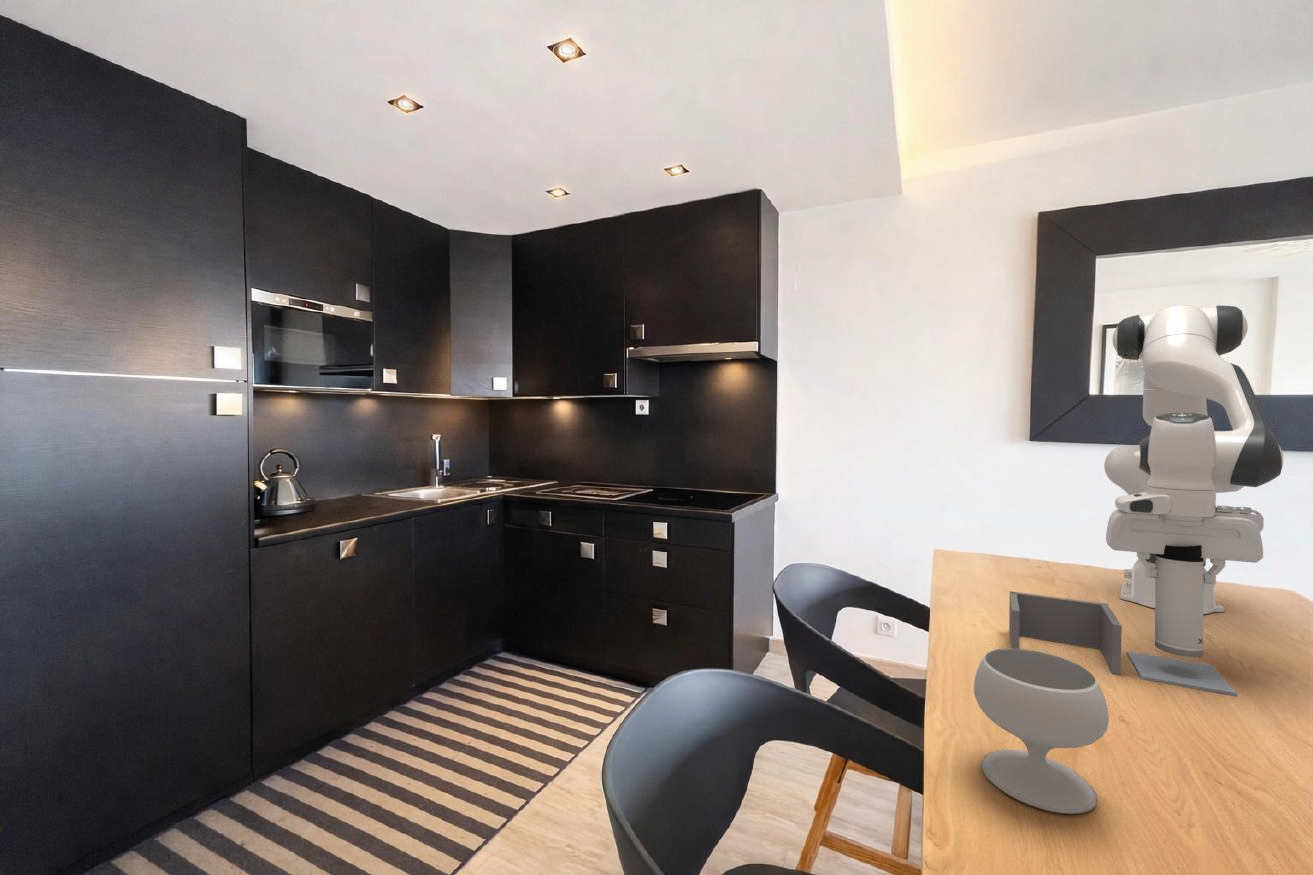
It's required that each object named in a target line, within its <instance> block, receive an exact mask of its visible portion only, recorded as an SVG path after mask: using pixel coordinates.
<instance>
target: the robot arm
mask: <svg viewBox="0 0 1313 875" xmlns="http://www.w3.org/2000/svg"><path fill="white" fill-rule="evenodd" d="M1248 328H1249V325H1248V321H1247V318H1246V316H1245V315H1244V313H1243V311H1242V310H1241V309H1240V308H1239V307H1237V306H1234V305H1216V306H1208V307H1207V306H1206V307H1203V306H1202V307H1201V306H1200V307H1197V306H1193V305H1188V304H1187V305H1186V304H1177V305H1171V306H1169V307H1166V308H1164V309H1162V310H1161V309H1160V310H1159V311H1158V312H1154V313H1147V314H1143V315H1139V314H1136V315H1132V316H1128V317H1125V318H1123V319H1121V321H1119V322H1118V323H1117V326H1116V328H1115V329H1114V331H1113V335H1112V346H1113V348H1114V350H1115V351H1116V354H1117V355H1118V356H1119V357H1120V358H1122V359H1124V360H1125V359H1126V360H1129V361H1130V360H1132V361H1133V360H1134V361H1139V359H1141V360H1142V368H1143V372H1144V375H1143V385H1142V387H1143V390H1142V392H1143V393H1142V418H1143V420H1144V422H1145V423H1146V424H1147V425H1148V426H1150V428H1151V429H1150V433H1149V434H1148V435H1147V436H1146V437H1144V438H1143V439H1142V440H1140V441H1139V442H1138V444H1137V445H1126V446H1120V447H1115V448H1114V449H1112V450H1111V451H1110V452H1109V453H1108V454H1107V456H1106V458H1105V460H1104V465H1103V466H1104V472H1105V474H1106V476H1107V477H1108V480H1110V481H1111V482H1112V483H1113V484H1114V485H1116V486H1118V487H1119V488H1121V489H1122V490H1123V491H1124V492H1125V493H1126V494H1127V495H1121V496H1117V497H1115V500H1114V505H1115V508H1116V509H1115V510H1114V511H1113V512H1111V514H1110V516H1109V518H1108V521H1107V527H1106V531H1105V532H1106V534H1105V542H1106V544H1107V546H1108V547H1109V548H1111V550H1114V551H1119V552H1128V553H1129V552H1131V553H1136V557H1137V560H1136V561H1135V563H1134V564H1133V565H1132V567H1131V568H1130V569H1129V568H1127V569H1123V572H1124V573H1123V574H1124V575H1123V577H1124V579H1128V580H1127V581H1124V582H1123V581H1122V582H1121V588H1120V593H1119V598H1120V600H1124V601H1127V602H1132V603H1136V604H1139V605H1142V606H1144V607H1149V608H1152V609H1155V578H1157V569H1156V568H1155V563H1156V554H1164V549H1165V545H1168V546H1198V545H1202V556H1201V558H1204V564H1203V565H1204V609H1203V615H1207V614H1210V613H1222V612H1223V613H1224V612H1225V607H1224V606H1223V605H1222V604H1219V603H1217V602H1216V590H1215V589H1216V587H1215V585H1216V583H1217V575H1219V574H1220V572H1221V571H1223V570H1224V568H1226V561H1233V562H1242V563H1255V564H1256V563H1259V561H1261V560H1262V559H1263V558H1264V546H1263V539H1262V536H1261V533H1262V531H1263V530H1264V520H1265V519H1264V516H1263V515H1262V514H1261V513H1260V512H1259V511H1257V510H1254V509H1252V508H1251V507H1247V506H1240V507H1239V506H1238V507H1237V506H1229V505H1228V506H1227V505H1217V502H1216V501H1217V494H1223V493H1224V494H1225V493H1235V492H1236V493H1237V492H1238V491H1240V490H1242V489H1243V488H1244V487H1249V488H1258V487H1261V486H1263V485H1265V484H1267V483H1269V482H1271V481H1273V480H1275V479H1276V478H1278V477H1279V476H1281V473H1282V470H1283V465H1284V453H1283V451H1282V448H1281V446H1280V444H1279V442H1278V441H1277V440H1278V439H1277V438H1276V436H1275V434H1274V433H1273V432H1272V430H1271V428H1270V426H1269V424H1268V423H1267V421H1266V418H1265V416H1264V414H1263V411H1262V409H1261V406H1260V403H1259V400H1258V398H1257V397H1256V394H1255V392H1254V390H1253V387H1252V385H1251V383H1250V381H1249V379H1248V377H1247V375H1246V373H1245V372H1244V370H1243V369H1242V368H1241V367H1240V365H1237V364H1235V363H1232V362H1229V361H1227V360H1225V359H1224V358H1222V357H1221V356H1222V355H1226V354H1228V353H1230V352H1233V351H1234V350H1235V349H1237V348H1238V347H1240V346H1241V344H1242V341H1244V339H1245V337H1246V336H1247V332H1248ZM1207 400H1210V401H1213V402H1215V403H1217V404H1219V405H1221V406H1222V407H1223V409H1224V411H1225V412H1226V415H1227V418H1228V421H1229V423H1230V427H1231V429H1232V430H1225V431H1224V430H1221V431H1220V430H1215V428H1214V423H1213V420H1212V417H1210V416H1209V415H1208V408H1207ZM1207 559H1209V562H1210V563H1211V565H1212V566H1211V567H1210V568H1209V569H1208V570H1207V569H1206V568H1205V567H1206V565H1207V562H1206V561H1207ZM1129 579H1130V580H1129Z"/></svg>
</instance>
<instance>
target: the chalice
mask: <svg viewBox="0 0 1313 875" xmlns="http://www.w3.org/2000/svg"><path fill="white" fill-rule="evenodd" d="M973 695H974V697H975V700H976V701H977V702H976V703H977V704H978V707H979V709H980V710H982V712H983V713H984V715H986V717H987V718H988V719H990V721H992V722H993V723H994V724H996V725H997V726H998V727H999V728H1001V729H1002V730H1004V731H1006V732H1008V733H1009V734H1011V735H1012V736H1014V737H1016V738H1018V739H1019V740H1020V741H1021V742H1022V743H1023V745H1025V747H1026V749H1027V751H1024V750H1020V749H1019V750H1018V749H1017V750H1016V749H1000V750H995V751H991V752H990V753H988V754H986V755H985V756H984V757H983V758H982V760H981V765H980V766H981V770H982V772H983V773H984V775H985V776H986V779H988V780H989V782H990V783H991V784H993V786H995V787H996V788H998V789H999V790H1000V791H1002V792H1003V793H1005V795H1008V796H1010V797H1012V798H1014V799H1016V800H1017V801H1020V802H1021V803H1024V804H1026V805H1028V806H1032V807H1034V808H1038V809H1040V810H1043V811H1046V812H1047V811H1048V812H1052V813H1058V814H1065V815H1067V814H1069V815H1074V814H1077V815H1078V814H1084V813H1087V812H1090V811H1092V810H1093V809H1094V808H1095V807H1096V806H1097V804H1098V801H1099V800H1098V796H1097V792H1096V791H1095V789H1094V788H1093V786H1092V785H1091V784H1090V783H1089V782H1088V781H1087V779H1085V777H1083V776H1081V775H1080V774H1079V773H1077V772H1076V771H1075V770H1073V769H1072V768H1070V767H1068V766H1067V765H1064V764H1062V763H1060V762H1058V761H1056V760H1054V759H1052V758H1050V757H1047V754H1048V753H1049V752H1050V751H1051V750H1054V749H1077V748H1082V747H1086V746H1090V745H1092V744H1094V743H1096V742H1097V741H1099V740H1100V739H1101V738H1102V737H1104V735H1105V734H1106V732H1107V731H1108V728H1109V726H1108V725H1109V720H1110V719H1109V716H1110V715H1109V709H1108V704H1107V700H1106V697H1105V694H1104V692H1103V690H1102V688H1101V686H1100V684H1099V681H1098V680H1097V678H1096V676H1094V674H1093V673H1092V672H1091V671H1090V670H1088V668H1087V669H1086V668H1085V667H1083V666H1082V665H1080V664H1078V663H1076V662H1074V661H1072V660H1069V659H1067V658H1064V657H1060V656H1058V655H1054V654H1051V653H1048V652H1047V653H1046V652H1042V651H1039V650H1038V651H1037V650H1033V649H1028V648H1027V649H1026V648H1019V649H1016V648H1011V647H1010V648H997V649H994V650H990V651H989V652H987V653H986V654H985V655H984V657H983V658H982V659H981V661H980V663H979V664H978V667H977V669H976V673H975V676H974V682H973Z"/></svg>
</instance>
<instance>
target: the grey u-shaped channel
mask: <svg viewBox="0 0 1313 875" xmlns="http://www.w3.org/2000/svg"><path fill="white" fill-rule="evenodd" d="M1008 618H1009V620H1008V621H1009V623H1008V624H1009V628H1008V629H1009V630H1008V633H1009V642H1010V643H1009V644H1010V648H1016V649H1020V637H1023V636H1024V637H1025V638H1029V637H1030V639H1036V640H1037V639H1038V640H1043V641H1048V642H1054V643H1055V642H1056V643H1062V644H1067V645H1073V646H1080V647H1086V648H1092V649H1096V650H1100V652H1101V653H1102V656H1103V658H1104V660H1105V662H1106V663H1107V666H1108V668H1109V670H1110V672H1111V674H1113V675H1117V676H1121V675H1122V674H1121V673H1122V627H1123V626H1122V625H1121V622H1120V621H1119V620H1118V618H1117V616H1116V614H1114V612H1113V610H1112V609H1111V607H1110V605H1109V604H1108V603H1104V602H1103V603H1102V602H1097V601H1095V602H1094V601H1089V600H1079V599H1074V598H1073V599H1072V598H1067V597H1066V598H1065V597H1059V596H1058V597H1057V596H1050V595H1049V596H1048V595H1042V594H1034V593H1026V592H1021V591H1020V592H1018V591H1011V590H1010V591H1009V617H1008Z"/></svg>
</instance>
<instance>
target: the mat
mask: <svg viewBox="0 0 1313 875" xmlns="http://www.w3.org/2000/svg"><path fill="white" fill-rule="evenodd" d="M1126 655H1127V657H1128V659H1129V661H1130V662H1131V664H1132V665H1133V667H1134V669H1135V671H1136V672H1137V674H1138V676H1139V678H1140V679H1141V680H1146V681H1150V682H1156V683H1161V684H1162V683H1163V684H1166V685H1172V684H1174V685H1173V686H1179V687H1182V688H1183V687H1184V688H1190V689H1196V690H1199V691H1200V690H1201V691H1207V692H1212V693H1217V694H1224V695H1228V696H1233V697H1238V693H1237V691H1236V690H1235V689H1234V688H1233V687H1232V686H1231V685H1230V684H1229V683H1228V681H1226V679H1225V678H1224V677H1223V676H1222V675H1221V674H1220V673H1219V672H1218V670H1217V669H1216V668H1215V667H1214V666H1213V665H1212V664H1209V663H1204V662H1197V661H1191V660H1185V659H1179V658H1172V657H1166V656H1161V655H1160V656H1159V655H1155V654H1148V653H1143V652H1135V651H1130V650H1126Z"/></svg>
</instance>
